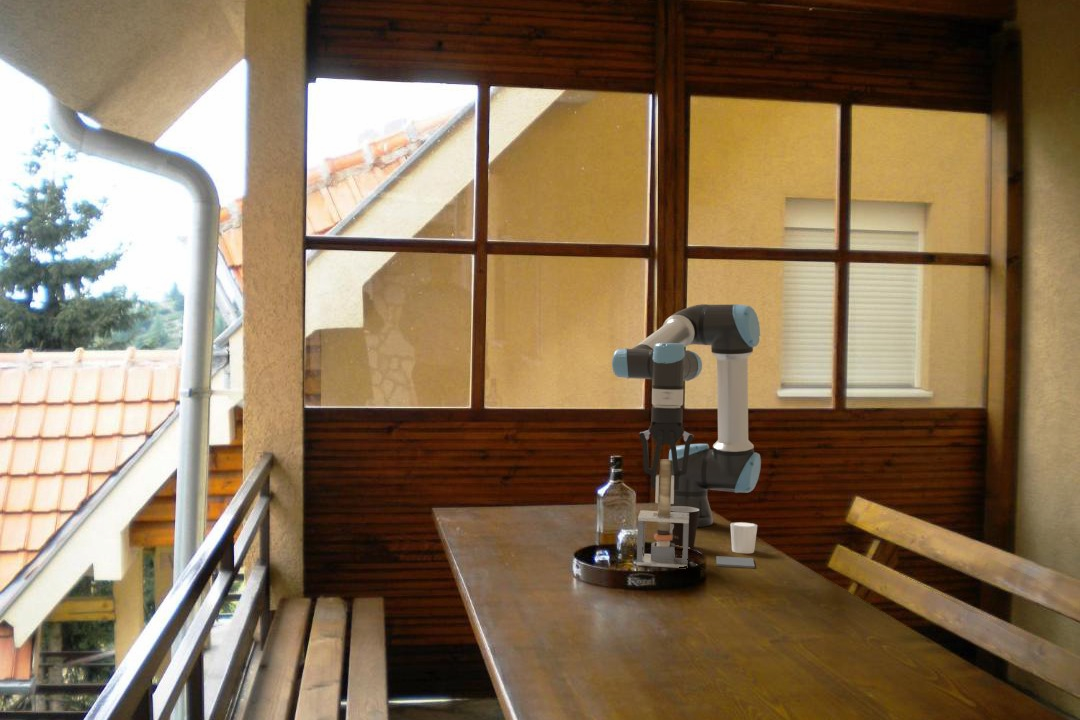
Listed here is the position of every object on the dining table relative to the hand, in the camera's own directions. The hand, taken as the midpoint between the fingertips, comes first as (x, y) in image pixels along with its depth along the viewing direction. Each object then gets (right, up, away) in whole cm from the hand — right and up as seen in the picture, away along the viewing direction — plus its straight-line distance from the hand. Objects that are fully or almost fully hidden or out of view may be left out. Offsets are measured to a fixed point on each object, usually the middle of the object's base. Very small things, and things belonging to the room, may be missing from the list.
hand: (664, 502), depth 252 cm
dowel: (0, -8, 0) cm, 8 cm away
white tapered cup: (+22, -15, +16) cm, 31 cm away
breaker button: (0, -13, 0) cm, 13 cm away
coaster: (+18, -15, +2) cm, 23 cm away
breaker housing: (0, -15, 0) cm, 15 cm away
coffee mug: (+7, -14, +21) cm, 26 cm away
